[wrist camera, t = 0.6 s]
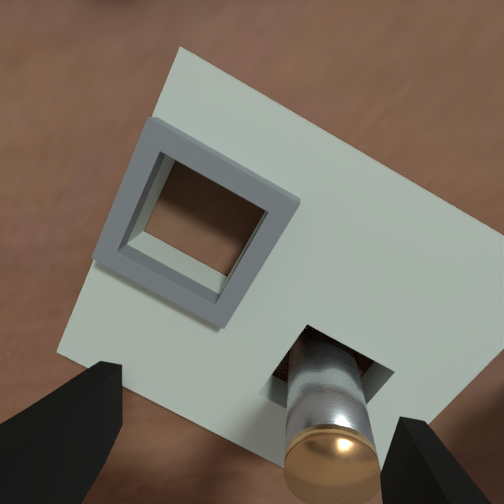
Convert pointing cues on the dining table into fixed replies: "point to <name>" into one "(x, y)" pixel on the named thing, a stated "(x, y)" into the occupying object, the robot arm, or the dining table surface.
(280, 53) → the dining table surface
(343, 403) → the silver and gold cylinder
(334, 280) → the board
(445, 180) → the dining table surface
